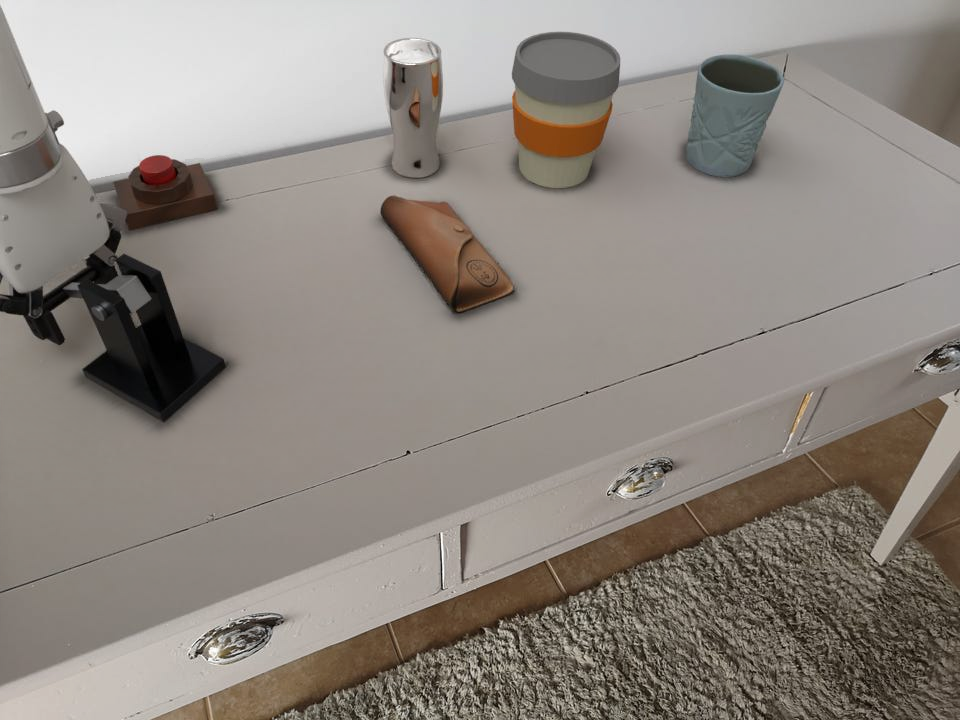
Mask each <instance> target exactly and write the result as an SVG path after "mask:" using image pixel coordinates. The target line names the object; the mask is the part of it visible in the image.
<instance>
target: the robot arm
mask: <svg viewBox="0 0 960 720" xmlns="http://www.w3.org/2000/svg"><path fill="white" fill-rule="evenodd" d="M64 125H65V121H64V118H63V117H62V116H61V114H60V113H59V112H58V111H57V110H51V111H48V112H45V110H44V108H43V104H42V103H41V99H40V98H39V94H38V93H37V89H36V88H35V86H34V83H33V80H32V78H31V76H30V73H29V71H28V69H27V65H26V63H25V61H24V58H23V56H22V53H21V52H20V49H19V46H18V43H17V42H16V39H15V36H14V34H13V31H12V29H11V27H10V24H9V22H8V19H7V17H6V15H5V13H4V10H3V7H2V6H1V5H0V285H1V283H2V281H3V278H4V279H5V281H6V282H7V283H8V289H9V291H8V292H9V293H8V294H4V293H0V313H5V314H7V315H14V316H15V315H17V316H23V319H24V320H25V322H26V324H27V325H28V327H29V329H30V331H31V332H32V334H33V336H35V337H36V338H37V339H39V340H41V341H45V340H47V341H50V342H51V343H53V344H55V345H57V346H59V347H60V346H62V345H63V344H65V343H66V338H65V336H64V334H63V331H62V329H61V328H60V326H59V324H58V321H57V320H56V318H55V316H54V314H53V312H52V311H49V310H48V309H46V308H44V307H43V296H44V285H46V284H48V283H49V282H51V281H53V280H54V279H56V278H57V277H58V276H59V277H60V276H61V275H62V274H63V273H65V272H67V271H68V270H69V269H71V268H73V267H74V266H76V265H78V263H80V262H81V261H83V260H85V266H86V267H87V266H91V267H93V268H94V269H95V270H96V271H97V272H98V274H99V278H98V279H97V280H95V281H94V282H93V283H95V284H105V285H106V284H107V283H108V282H110V281H111V280H113V279H114V278H116V277H117V276H118V275H119V273H118V271H117V268H116V264H117V262H116V258H118V257H119V256H118V255H117V254H116V253H117V250H118V248H119V245H120V242H121V240H122V233H121V231H123V229H124V226H125V224H126V221H125V220H126V217H127V211H126V210H124V209H122V208H121V206H118V205H114V204H111V203H107V202H104V201H100V200H99V199H98V197H97V195H96V193H95V191H94V189H93V188H92V185H91V184H90V182H89V180H88V179H87V177H86V175H85V173H84V172H83V170H82V168H80V166H79V164H78V163H77V162H76V160H75V158H74V157H73V156H72V154H71V153H70V152H69V150H68V149H67V148H66V147H65V145H63V144H61V143H60V141H59V138H58V136H57V133H56V132H57V131H58V129H59V128H61V127H63V126H64Z"/></svg>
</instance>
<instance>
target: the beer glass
mask: <svg viewBox="0 0 960 720" xmlns="http://www.w3.org/2000/svg"><path fill="white" fill-rule="evenodd" d="M382 65H383V66H382V67H383V69H382V70H383V71H382V72H383V73H382V77H383V78H382V79H383V80H382V82H383V95H384V101H385V106H386V111H387V116H388V120H389V123H390V128H391V132H392V139H393V147H392V156H391V168H392V169H393V171H394V172H395V173H396V174H398V175H400V176H401V177H404V178H409V179H423V178H426V177H430V176H432V175H433V174H435V173H436V172H437V171H438V170H439V168H440V157H439V153H438V147H437V134H438V127H439V122H440V116H441V111H442V105H443V97H444V74H443V62H442V48H441V47H440V46H439V45H438V44H437V43H436V42H434V41H431V40H428V39H425V38H422V37H421V38H420V37H405V38H398V39H395V40H392V41H390V42H389V43H387V44H386V45H385V46H384V48H383V64H382Z"/></svg>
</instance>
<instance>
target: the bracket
mask: <svg viewBox="0 0 960 720" xmlns="http://www.w3.org/2000/svg"><path fill="white" fill-rule="evenodd" d="M117 257H118V258H116V262H117V263H116V264H117V268H118V271H119V272H120V275H131V276H137V277H138V278H139V280H140V281H141V283H142V285H143V286H144V288H145V289H146V291H147V292H148V294H149V295H150V297H151V298H152V299H151V300H150V301H148V302H147V303H146V304H144V305H143V306H142V307H140V308H139V309H138V310H136V311H135V313H136V315H137V318H138V320H139V323H140V324H139V325H137V326H136V325H135V322H134V320H133V318H132V315H131V313H130V312H129V310H128V307H127V305H126V302H125V300H124V298H123V297H121V296H119V295H117V294H115V293H113V292H111V291H109V290H107V289H105V288H103V287H101V286H99V285H97V284H95V283H94V282H91V281H89V280H88V279H86V280H84V281H83V282H81V283H80V284H78V285H77V286H78V288H79V291H80V293H81V295H82V297H83V298H82V299H83V301H84V304H85V306H86V308H87V311H88V313H89V315H90V317H91V319H92V321H93V324H94V326H95V328H96V331H97V332H98V335H99V337H100V339H101V342H102V344H103V346H104V348H105V351H103V353H102V354H100V355H99V356H97V357H96V358H95V359H93V360H92V361H91V362H90V363H89V364H87V365H86V366H85V367H83V368H82V372H83V374H84V376H85V378H86V379H88V380H89V381H91V382H92V383H95V384H97V385H98V386H100V387H102V388H103V389H105V390H107V391H108V392H110V393H112V394H114V395H116V396H118V397H119V398H120V399H122V400H125V401H126V402H128V403H130V404H132V405H133V406H135V407H137V408H139V409H140V410H142V411H144V412H145V413H147V414H149V415H150V416H152V417H154V418H156V419H157V420H159V421H161V422H166V421H167V420H168V419H169V418H170V417H172V415H174V414H175V413H176V412H177V411H178V410H179V409H180V408H181V407H183V406H184V405H185V404H186V403H187V402H188V401H189V400H191V399H192V398H193V397H194V396H195V395H196V394H197V393H199V391H200V390H202V389H203V388H205V386H207V384H208V383H210V382H211V381H212V380H213V379H214V378H215V377H216V376H218V375H219V374H220V373H221V372H222V371H223V370H224V369H225V368H226V367H227V366H226V362H225V359H224V358H223V357H222V356H220V355H217V354H216V353H214V352H212V351H210V350H208V349H206V348H204V347H202V346H201V345H198V344H197V343H194V342H193V341H190V340H189V339H187V338H185V337H184V334H183V332H182V329H181V326H180V324H179V321H178V317H177V314H176V312H175V309H174V306H173V304H172V300H171V296H170V294H169V291H168V289H167V285H166V283H165V279H164V277H163V274H162V271H161V270H159V269H157V268H156V267H153V266H152V265H149V264H146V262H145V263H144V262H143V261H140V260H138V259H136V258H134V257H133V256H131V255H128V254H126V253H123V254H121V255H119V256H117Z"/></svg>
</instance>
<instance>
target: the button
mask: <svg viewBox="0 0 960 720" xmlns="http://www.w3.org/2000/svg"><path fill="white" fill-rule="evenodd" d="M171 159H172V158H171V157H169V156H167V155H162V154H156V155H151V156H147V157H145V158H144V159H142V160H141V161H140V162H139V164H138V166H139V168H140V172H141V175H142V178H143V180H144V182H145V183H146V184H148V185H162V184H166V183H169V182H170V181H172V180H174V179H175V177H176V172H175V169H174V165H173V162H172V160H171Z"/></svg>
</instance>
